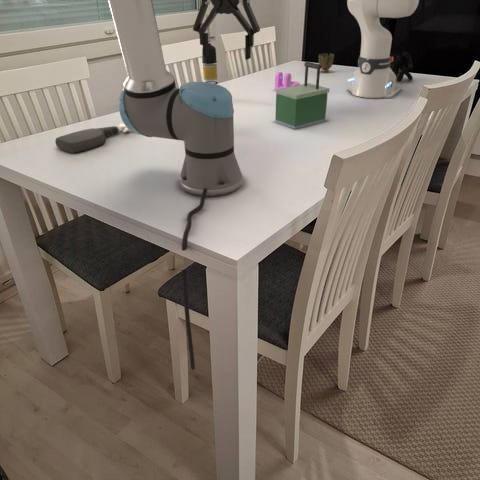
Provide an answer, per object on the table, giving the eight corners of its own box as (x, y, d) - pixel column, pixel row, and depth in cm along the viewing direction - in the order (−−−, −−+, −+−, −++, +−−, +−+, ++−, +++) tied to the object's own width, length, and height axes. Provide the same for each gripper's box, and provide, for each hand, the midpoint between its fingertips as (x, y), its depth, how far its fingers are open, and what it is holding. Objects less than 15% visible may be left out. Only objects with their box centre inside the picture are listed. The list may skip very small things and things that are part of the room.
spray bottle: (53, 147, 134) (120, 127, 150) (74, 154, 128) (141, 133, 144) (51, 137, 132) (118, 118, 149) (72, 145, 126) (140, 124, 143)
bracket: (286, 91, 186) (286, 74, 182) (275, 89, 189) (275, 72, 185) (302, 85, 195) (302, 68, 191) (291, 83, 197) (291, 67, 194)
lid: (308, 86, 154) (310, 59, 149) (329, 92, 147) (331, 63, 142) (276, 93, 147) (276, 65, 142) (296, 99, 140) (297, 70, 135)
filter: (220, 99, 177) (217, 15, 161) (206, 100, 176) (202, 16, 160) (215, 96, 182) (212, 14, 166) (202, 97, 180) (197, 14, 164)
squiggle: (400, 92, 202) (376, 71, 205) (417, 76, 202) (392, 56, 205) (405, 81, 191) (380, 59, 194) (423, 64, 191) (397, 42, 194)
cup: (315, 72, 216) (316, 55, 212) (320, 69, 222) (321, 52, 218) (330, 73, 213) (331, 56, 209) (334, 71, 219) (336, 53, 215)
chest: (305, 114, 158) (306, 87, 154) (325, 121, 152) (327, 92, 147) (275, 121, 152) (276, 93, 147) (294, 129, 145) (296, 99, 140)
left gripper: (271, -25, 123) (269, 57, 134) (189, -24, 130) (194, 53, 142) (263, -24, 117) (262, 61, 128) (178, -23, 124) (184, 58, 136)
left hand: (226, 57), depth 135 cm, fingers open, 13 cm apart
